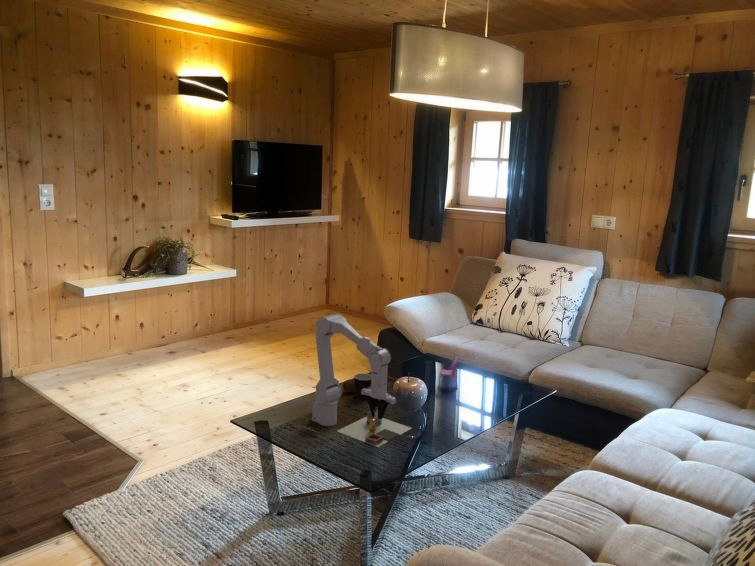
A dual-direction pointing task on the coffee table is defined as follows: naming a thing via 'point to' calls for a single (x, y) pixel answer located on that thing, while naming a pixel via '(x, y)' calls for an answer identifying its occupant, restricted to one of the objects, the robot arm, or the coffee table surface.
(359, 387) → the coffee mug
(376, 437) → the frame
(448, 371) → the toy chair
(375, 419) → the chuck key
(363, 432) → the board
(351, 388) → the stone weight
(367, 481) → the coffee table surface
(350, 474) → the coffee table surface
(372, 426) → the lever
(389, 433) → the rubber pad
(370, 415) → the cylinder
